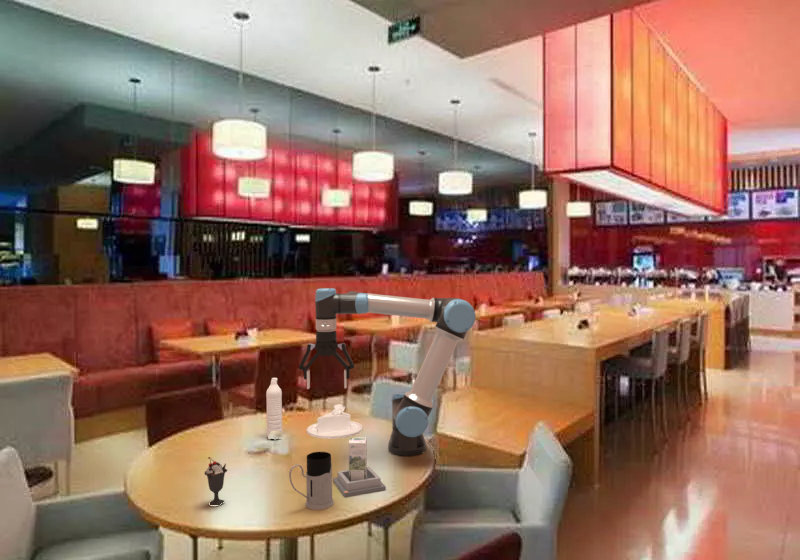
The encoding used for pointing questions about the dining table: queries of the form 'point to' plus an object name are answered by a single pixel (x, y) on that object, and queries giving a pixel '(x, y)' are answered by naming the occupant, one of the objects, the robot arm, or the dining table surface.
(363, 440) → the syrup box
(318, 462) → the glass holder
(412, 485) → the dining table surface
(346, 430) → the dish
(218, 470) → the sundae
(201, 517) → the dining table surface
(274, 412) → the water bottle
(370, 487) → the box holder
